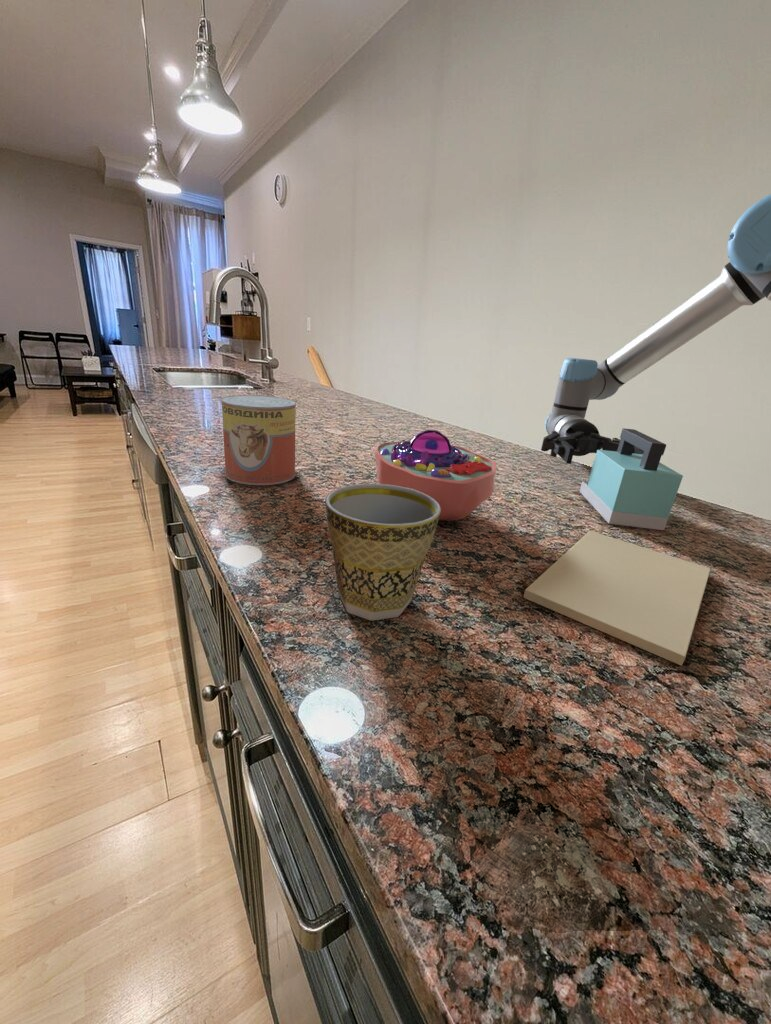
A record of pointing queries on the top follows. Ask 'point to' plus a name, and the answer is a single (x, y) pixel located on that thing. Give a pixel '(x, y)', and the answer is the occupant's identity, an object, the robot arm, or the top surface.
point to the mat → (626, 593)
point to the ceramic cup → (379, 545)
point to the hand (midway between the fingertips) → (610, 460)
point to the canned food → (259, 439)
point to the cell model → (437, 472)
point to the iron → (632, 483)
